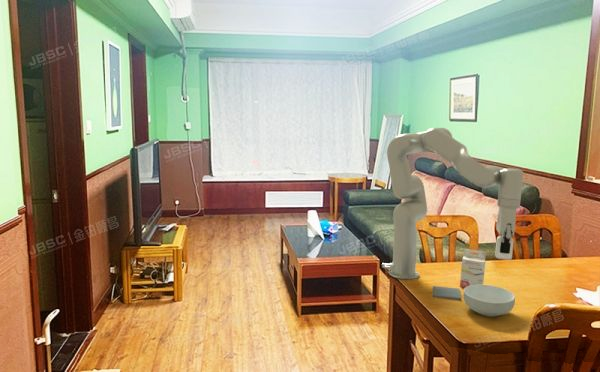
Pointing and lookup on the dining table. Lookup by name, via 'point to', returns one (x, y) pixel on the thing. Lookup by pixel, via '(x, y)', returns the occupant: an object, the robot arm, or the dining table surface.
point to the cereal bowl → (489, 299)
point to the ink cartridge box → (472, 268)
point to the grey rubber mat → (446, 293)
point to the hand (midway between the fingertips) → (503, 250)
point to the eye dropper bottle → (497, 251)
